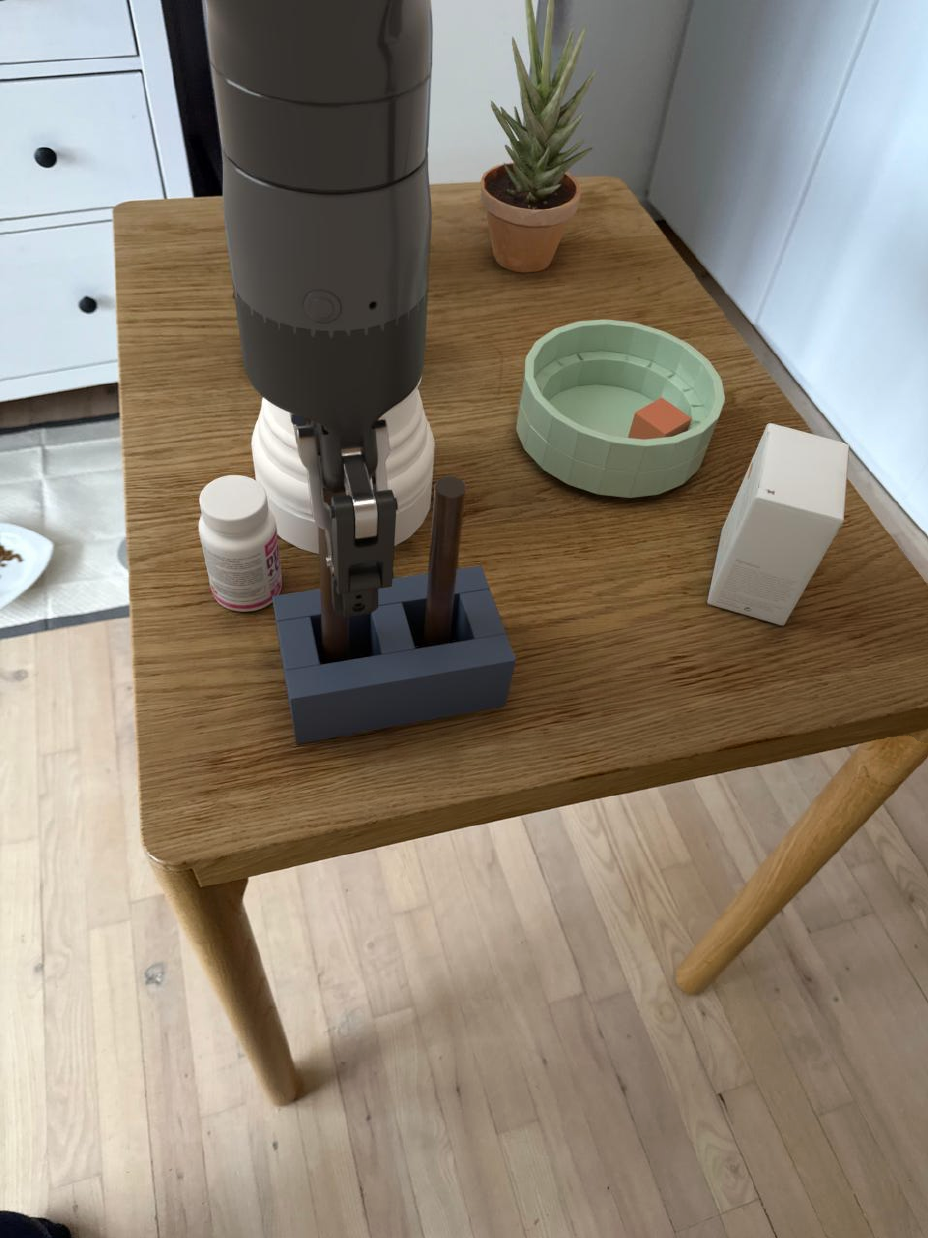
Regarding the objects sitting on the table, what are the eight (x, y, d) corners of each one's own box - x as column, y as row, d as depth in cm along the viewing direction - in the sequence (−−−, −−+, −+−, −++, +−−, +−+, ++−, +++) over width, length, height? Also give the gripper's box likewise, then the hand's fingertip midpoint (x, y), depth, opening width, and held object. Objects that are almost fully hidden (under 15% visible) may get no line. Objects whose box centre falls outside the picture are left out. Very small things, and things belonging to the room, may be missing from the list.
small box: (782, 629, 62) (846, 523, 54) (703, 605, 63) (754, 497, 54) (793, 550, 67) (853, 442, 59) (720, 529, 68) (768, 419, 59)
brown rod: (343, 671, 57) (342, 481, 45) (353, 689, 56) (354, 502, 44) (319, 679, 56) (312, 489, 44) (329, 698, 55) (324, 510, 43)
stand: (278, 644, 58) (272, 595, 54) (474, 613, 61) (481, 564, 57) (296, 744, 53) (290, 699, 49) (506, 706, 56) (516, 660, 52)
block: (625, 443, 72) (634, 411, 69) (651, 428, 73) (661, 396, 71) (655, 465, 70) (665, 434, 68) (681, 449, 72) (692, 418, 69)
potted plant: (466, 232, 91) (491, -59, 72) (555, 230, 93) (602, -55, 74) (485, 286, 85) (517, -15, 66) (579, 283, 87) (638, -12, 68)
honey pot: (455, 536, 65) (478, 319, 51) (280, 573, 61) (252, 351, 47) (401, 424, 72) (408, 207, 58) (242, 452, 69) (208, 227, 54)
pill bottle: (288, 607, 60) (278, 518, 53) (216, 620, 58) (196, 530, 52) (277, 555, 62) (266, 465, 56) (207, 566, 61) (187, 475, 55)
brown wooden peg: (437, 654, 58) (455, 471, 46) (450, 671, 57) (472, 491, 45) (416, 663, 58) (429, 481, 45) (429, 681, 57) (445, 501, 44)
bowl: (623, 361, 80) (639, 301, 75) (740, 466, 72) (766, 407, 68) (479, 410, 74) (486, 349, 69) (590, 530, 66) (606, 470, 62)
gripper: (474, 371, 31) (444, 654, 44) (388, 171, 39) (384, 459, 52) (253, 393, 29) (291, 680, 42) (213, 179, 37) (254, 474, 50)
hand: (342, 557), depth 47 cm, fingers open, 6 cm apart
